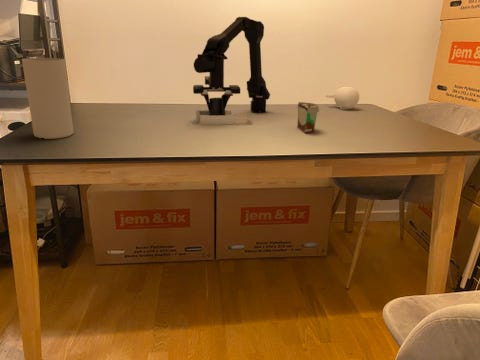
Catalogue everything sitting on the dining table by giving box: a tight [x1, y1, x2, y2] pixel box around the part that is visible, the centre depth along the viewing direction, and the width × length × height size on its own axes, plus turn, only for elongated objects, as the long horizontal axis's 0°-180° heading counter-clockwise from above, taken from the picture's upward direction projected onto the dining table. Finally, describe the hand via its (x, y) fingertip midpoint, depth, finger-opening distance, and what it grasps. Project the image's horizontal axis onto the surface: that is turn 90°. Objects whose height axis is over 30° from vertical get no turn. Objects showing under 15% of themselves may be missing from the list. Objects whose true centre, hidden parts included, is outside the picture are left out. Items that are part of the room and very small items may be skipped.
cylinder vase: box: [21, 57, 74, 140], centre depth 132 cm, size 12×12×25 cm
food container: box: [296, 101, 320, 134], centre depth 152 cm, size 12×6×10 cm, turn 9°
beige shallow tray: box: [195, 109, 253, 126], centre depth 165 cm, size 22×13×4 cm, turn 99°
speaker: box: [209, 93, 226, 115], centre depth 164 cm, size 8×6×10 cm
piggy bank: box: [325, 86, 360, 111], centre depth 200 cm, size 12×12×15 cm
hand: (216, 110), depth 164 cm, fingers closed on speaker, 5 cm apart
